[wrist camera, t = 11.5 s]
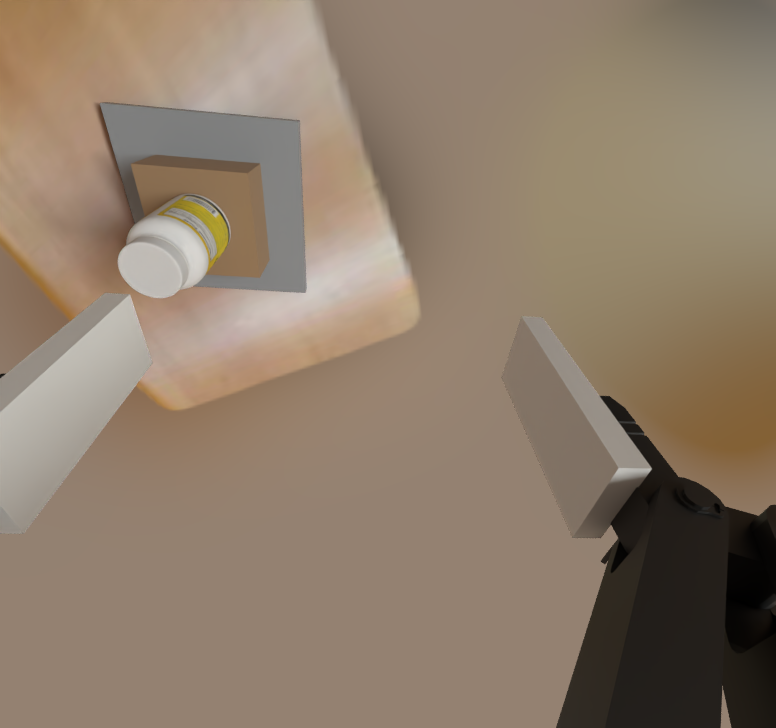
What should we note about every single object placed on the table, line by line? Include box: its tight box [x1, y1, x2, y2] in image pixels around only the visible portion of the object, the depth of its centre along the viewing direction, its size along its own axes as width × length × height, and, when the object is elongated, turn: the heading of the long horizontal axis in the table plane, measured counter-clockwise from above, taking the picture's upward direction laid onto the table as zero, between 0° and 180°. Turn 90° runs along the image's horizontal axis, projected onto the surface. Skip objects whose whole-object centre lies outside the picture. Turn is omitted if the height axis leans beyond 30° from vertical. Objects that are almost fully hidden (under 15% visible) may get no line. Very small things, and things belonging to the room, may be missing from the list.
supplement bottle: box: [118, 194, 231, 298], centre depth 30 cm, size 5×5×10 cm
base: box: [100, 102, 306, 293], centre depth 36 cm, size 16×16×6 cm
